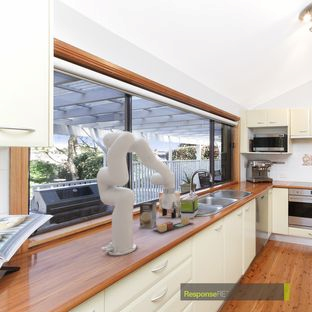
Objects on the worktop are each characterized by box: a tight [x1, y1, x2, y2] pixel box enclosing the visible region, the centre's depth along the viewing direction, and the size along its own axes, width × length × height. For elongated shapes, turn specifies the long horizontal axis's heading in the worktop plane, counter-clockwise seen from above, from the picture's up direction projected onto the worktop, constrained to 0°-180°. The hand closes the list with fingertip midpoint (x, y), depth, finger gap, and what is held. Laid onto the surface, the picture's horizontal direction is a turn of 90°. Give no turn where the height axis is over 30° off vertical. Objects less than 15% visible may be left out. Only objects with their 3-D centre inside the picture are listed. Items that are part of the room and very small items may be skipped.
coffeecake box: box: [158, 190, 181, 218], centre depth 173 cm, size 15×7×20 cm, turn 88°
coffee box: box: [139, 201, 158, 229], centre depth 147 cm, size 9×6×16 cm
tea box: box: [180, 195, 199, 219], centre depth 175 cm, size 15×10×15 cm
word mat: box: [152, 217, 194, 235], centre depth 146 cm, size 26×10×4 cm, turn 142°
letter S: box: [164, 220, 174, 230], centre depth 142 cm, size 4×4×4 cm
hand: (169, 217), depth 143 cm, fingers open, 9 cm apart
